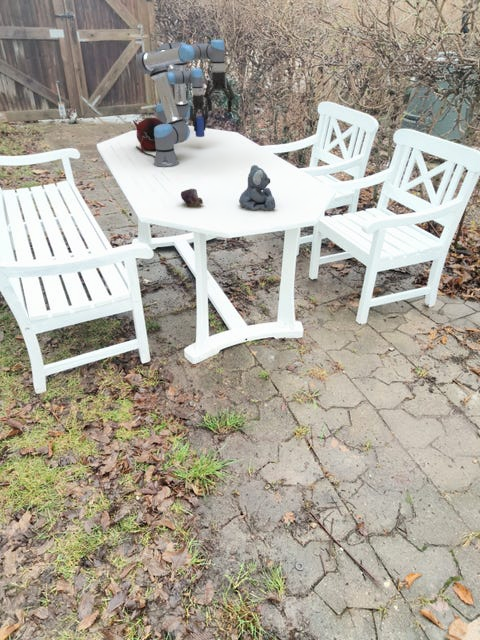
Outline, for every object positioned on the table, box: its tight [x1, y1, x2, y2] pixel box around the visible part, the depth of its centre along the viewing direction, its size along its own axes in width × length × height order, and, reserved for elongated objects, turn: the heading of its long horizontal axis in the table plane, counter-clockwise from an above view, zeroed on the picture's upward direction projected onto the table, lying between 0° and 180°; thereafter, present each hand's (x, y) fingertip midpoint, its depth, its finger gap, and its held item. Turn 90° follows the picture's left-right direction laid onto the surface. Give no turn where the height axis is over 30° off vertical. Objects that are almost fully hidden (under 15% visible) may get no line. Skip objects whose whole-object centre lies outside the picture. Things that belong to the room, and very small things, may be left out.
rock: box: [180, 188, 204, 207], centre depth 229 cm, size 12×9×10 cm
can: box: [195, 115, 205, 138], centre depth 317 cm, size 6×6×12 cm
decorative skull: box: [132, 117, 164, 153], centre depth 323 cm, size 21×24×25 cm
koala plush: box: [238, 164, 276, 211], centre depth 224 cm, size 17×18×20 cm
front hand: (219, 111), depth 269 cm, fingers open, 13 cm apart
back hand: (199, 130), depth 319 cm, fingers closed on can, 6 cm apart
